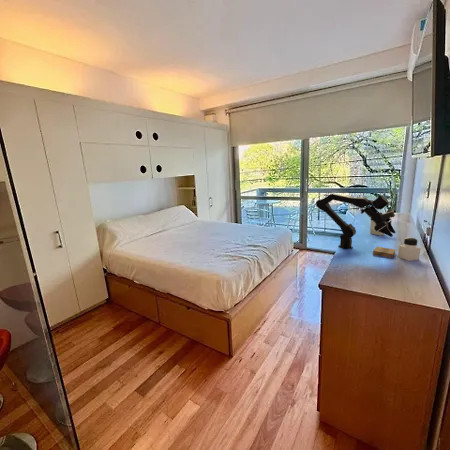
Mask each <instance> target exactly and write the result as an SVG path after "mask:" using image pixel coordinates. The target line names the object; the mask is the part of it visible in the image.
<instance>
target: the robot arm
mask: <svg viewBox="0 0 450 450" xmlns="http://www.w3.org/2000/svg"><path fill="white" fill-rule="evenodd" d="M332 201H337V202H342V203H346V204H351V205H353V206H354V207H357V208H360V209H361V210H360V214H361V215H362V214H364V213H365V215H367V216H368V218H370V222H371V221H372V220H373V221H374V222H375V223H376V226H375V227H374V229H375V230H376V231H378V232H381V233H383V234H384V235H386V236H388V237H391V238H392V237H394V235H393V234H396V233H397V232H396V230H395V229H394V227H393V225H392V218H394V217H395V216H396V214H395V211H394V210H391V209H388V210H386V212H384V213H383V212H381V211H378V210H383V209H384V208H385V207H387V206H388V205H390V201H389V200H388V199H387V198H385V197H383V195H379V196H378V197H377V198H375V199H373V200H371V199H368V198H367V197H360V196H359V197H355V196H354V197H353V196H348V195H342V194H337V193H335V192H334V193H330V194H328V195H327V196H326V197H324V198H321V199H318V200H316V202H315V206H316V207H317V208H318V209H319V210H320V211H322V212H324V213H326V214H327V215H328V217H329V218H331V220H332V221H333V222H334V223H335V224H336V225H337V226H338V227H339V228H340V230H341V232H342V233H341V235H340V236H339V238H340V242H339V243H340V244H339V245H338V247H339V248H341V249H344V250H348V249H349V250H350V249H353V248H354V246H353V245H352V243H353V242H352V241H353V237H354V236H355V235H356V233H357V230H356V227H355V226H354V225H352V223H347V222H345V220H344V219H342V217H340V215H339V214H337V212H336V211H334V210H333V208H332V207H331V205H330V202H332ZM379 229H380V230H379Z"/></svg>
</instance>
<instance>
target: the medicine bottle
mask: <svg viewBox="0 0 450 450" xmlns="http://www.w3.org/2000/svg"><path fill="white" fill-rule="evenodd" d="M421 250H422V249H421V247H419V246H418V239H416V238H414V237H405V238H404V240H403V244H401V245H399V247H398V253H397V257H398V258H400V259H403V260H405V261H408V262H410V261H419V260H420V255H421Z"/></svg>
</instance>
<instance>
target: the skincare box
mask: <svg viewBox="0 0 450 450" xmlns="http://www.w3.org/2000/svg"><path fill="white" fill-rule="evenodd" d="M375 226H376V223H375V222H374V221H373V220H372V221H371V220H370V230H369V234H370V235H377V236H384V235H385V234H383V233H381V232H378V231H376V230H375V229H374V227H375ZM379 230H380V229H379Z"/></svg>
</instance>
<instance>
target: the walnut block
mask: <svg viewBox="0 0 450 450" xmlns="http://www.w3.org/2000/svg"><path fill="white" fill-rule="evenodd" d="M395 254H396V249H394V248H388V247H387V248H386V247H382V246H376V247H375V248H374V249H373V251H372V256H378V257H383V258H387V259H388V258H389V259H393V258H394V257H395Z"/></svg>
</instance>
